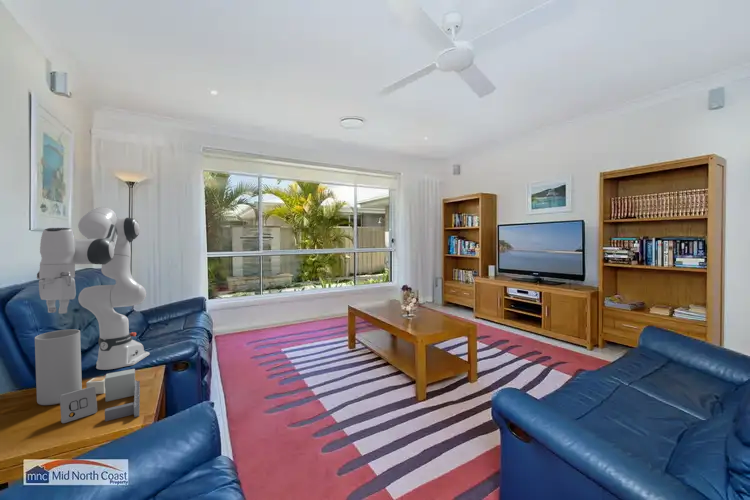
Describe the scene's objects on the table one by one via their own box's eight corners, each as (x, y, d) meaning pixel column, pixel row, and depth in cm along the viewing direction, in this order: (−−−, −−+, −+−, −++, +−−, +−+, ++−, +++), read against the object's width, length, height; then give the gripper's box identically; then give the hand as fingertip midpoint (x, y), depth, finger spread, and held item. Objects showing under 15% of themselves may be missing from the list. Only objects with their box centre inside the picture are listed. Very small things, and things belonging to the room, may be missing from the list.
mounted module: (106, 396, 127) (105, 373, 126) (135, 390, 132) (134, 368, 132) (105, 401, 123) (104, 378, 122) (135, 395, 128) (134, 372, 128)
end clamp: (105, 418, 112) (105, 408, 112) (134, 411, 116) (134, 402, 116) (104, 421, 110) (104, 411, 110) (134, 414, 115) (134, 404, 115)
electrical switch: (61, 425, 108) (60, 397, 108) (58, 420, 111) (57, 393, 111) (97, 413, 115) (96, 387, 115) (94, 409, 118) (93, 384, 119)
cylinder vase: (31, 401, 123) (28, 336, 122) (73, 387, 134) (71, 327, 133) (44, 409, 117) (42, 341, 116) (88, 394, 128) (86, 332, 127)
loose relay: (93, 390, 132) (93, 377, 132) (110, 388, 133) (109, 376, 133) (86, 394, 128) (86, 382, 128) (104, 393, 129) (103, 380, 129)
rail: (135, 390, 132) (135, 380, 132) (139, 389, 133) (139, 379, 133) (134, 417, 113) (133, 406, 113) (139, 416, 114) (139, 404, 113)
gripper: (82, 271, 111) (81, 312, 110) (58, 273, 121) (58, 311, 120) (57, 272, 105) (56, 315, 105) (34, 274, 115) (34, 313, 115)
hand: (57, 313), depth 112 cm, fingers open, 8 cm apart
